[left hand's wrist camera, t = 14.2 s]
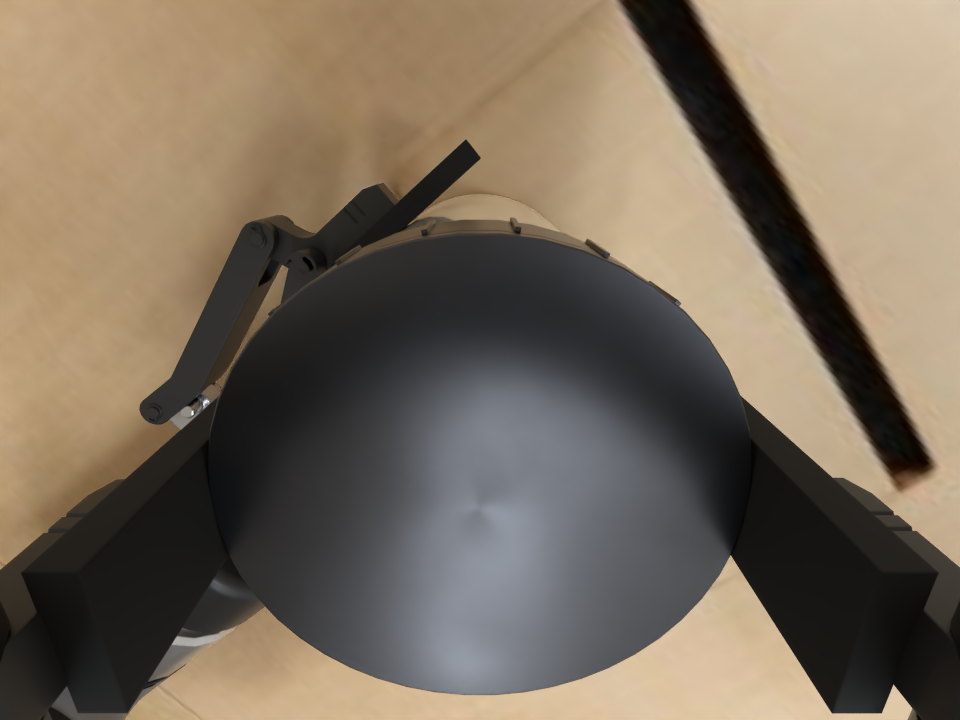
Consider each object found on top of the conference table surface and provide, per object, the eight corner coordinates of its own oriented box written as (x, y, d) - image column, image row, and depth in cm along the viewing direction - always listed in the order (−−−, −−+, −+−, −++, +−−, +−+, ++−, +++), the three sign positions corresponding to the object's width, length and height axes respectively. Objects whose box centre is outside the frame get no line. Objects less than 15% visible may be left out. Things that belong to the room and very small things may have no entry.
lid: (740, 561, 14) (788, 635, 11) (362, 657, 15) (342, 739, 13) (657, 139, 10) (704, 132, 8) (163, 313, 11) (89, 349, 9)
